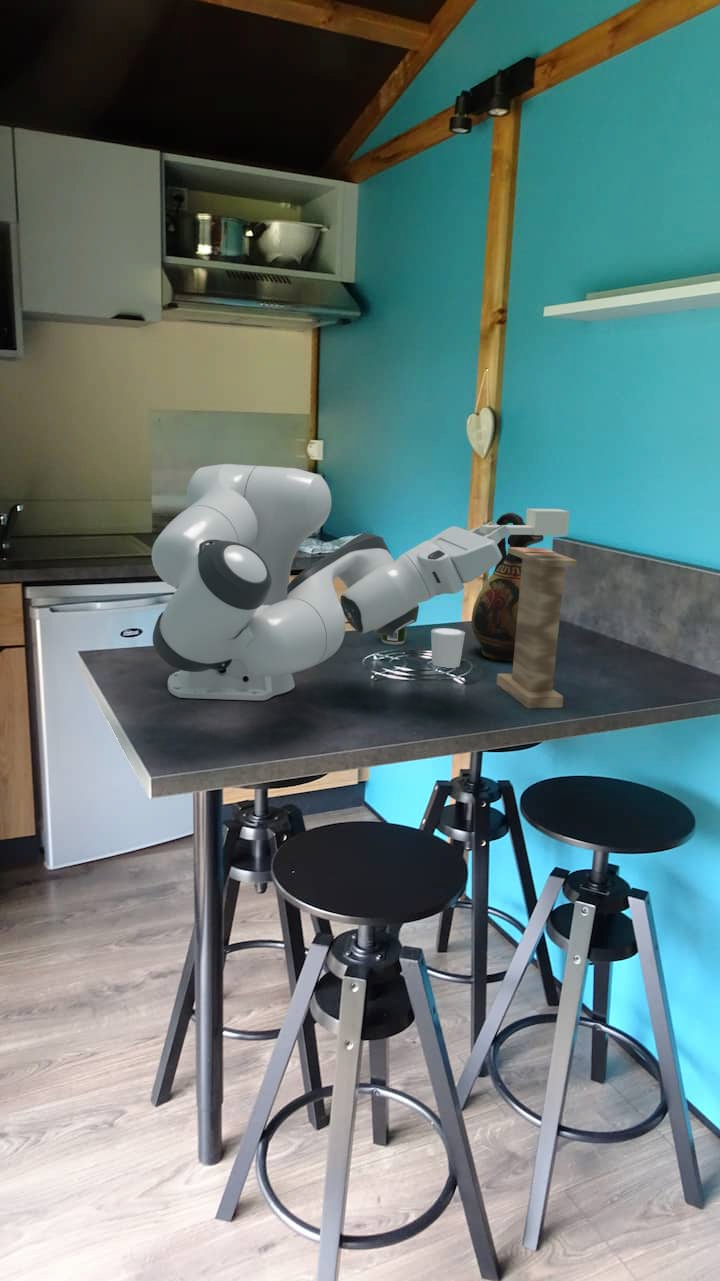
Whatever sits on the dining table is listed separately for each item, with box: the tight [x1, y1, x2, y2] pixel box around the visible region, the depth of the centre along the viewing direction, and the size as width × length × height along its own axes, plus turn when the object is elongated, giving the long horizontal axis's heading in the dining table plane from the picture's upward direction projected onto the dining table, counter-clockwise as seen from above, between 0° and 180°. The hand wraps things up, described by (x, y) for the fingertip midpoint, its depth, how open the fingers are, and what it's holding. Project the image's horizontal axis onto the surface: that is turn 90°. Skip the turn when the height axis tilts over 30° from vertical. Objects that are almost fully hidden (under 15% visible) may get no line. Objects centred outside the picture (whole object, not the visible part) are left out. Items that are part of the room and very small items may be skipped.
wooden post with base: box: [496, 546, 578, 709], centre depth 166 cm, size 6×15×26 cm, turn 13°
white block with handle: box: [479, 508, 570, 536], centre depth 156 cm, size 14×4×4 cm, turn 104°
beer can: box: [380, 626, 407, 646], centre depth 202 cm, size 5×5×12 cm
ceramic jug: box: [471, 512, 545, 663], centre depth 194 cm, size 17×15×30 cm
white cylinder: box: [430, 627, 466, 669], centre depth 186 cm, size 7×7×7 cm
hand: (501, 527), depth 156 cm, fingers closed on white block with handle, 3 cm apart
